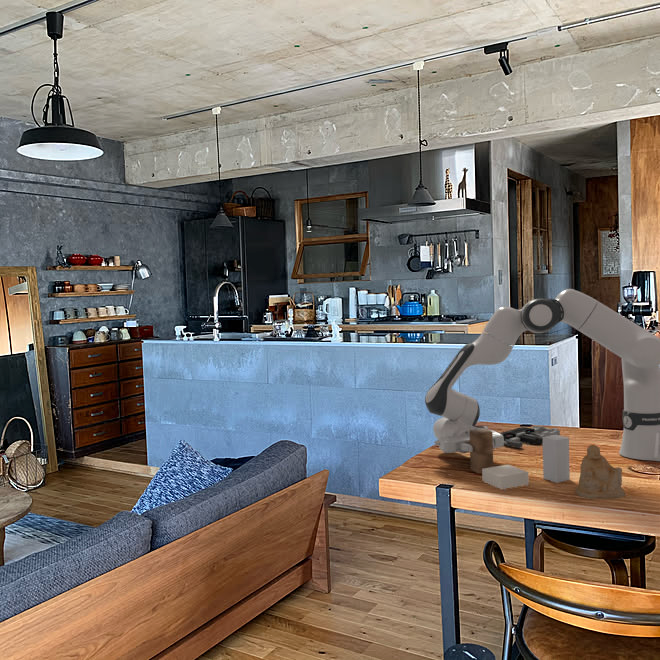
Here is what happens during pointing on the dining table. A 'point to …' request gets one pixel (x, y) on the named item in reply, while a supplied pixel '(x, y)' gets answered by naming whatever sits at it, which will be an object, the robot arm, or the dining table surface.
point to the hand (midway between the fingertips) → (482, 448)
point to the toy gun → (527, 435)
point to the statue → (599, 477)
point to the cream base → (505, 476)
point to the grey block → (556, 458)
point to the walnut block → (481, 449)
